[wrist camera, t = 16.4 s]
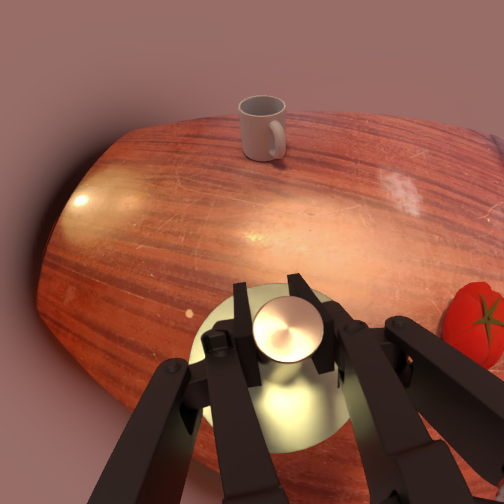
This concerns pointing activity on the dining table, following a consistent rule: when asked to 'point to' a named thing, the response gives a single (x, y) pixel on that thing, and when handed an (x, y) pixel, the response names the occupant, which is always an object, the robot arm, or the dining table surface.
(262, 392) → the lid
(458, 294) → the tomato
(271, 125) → the cup
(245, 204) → the dining table surface
